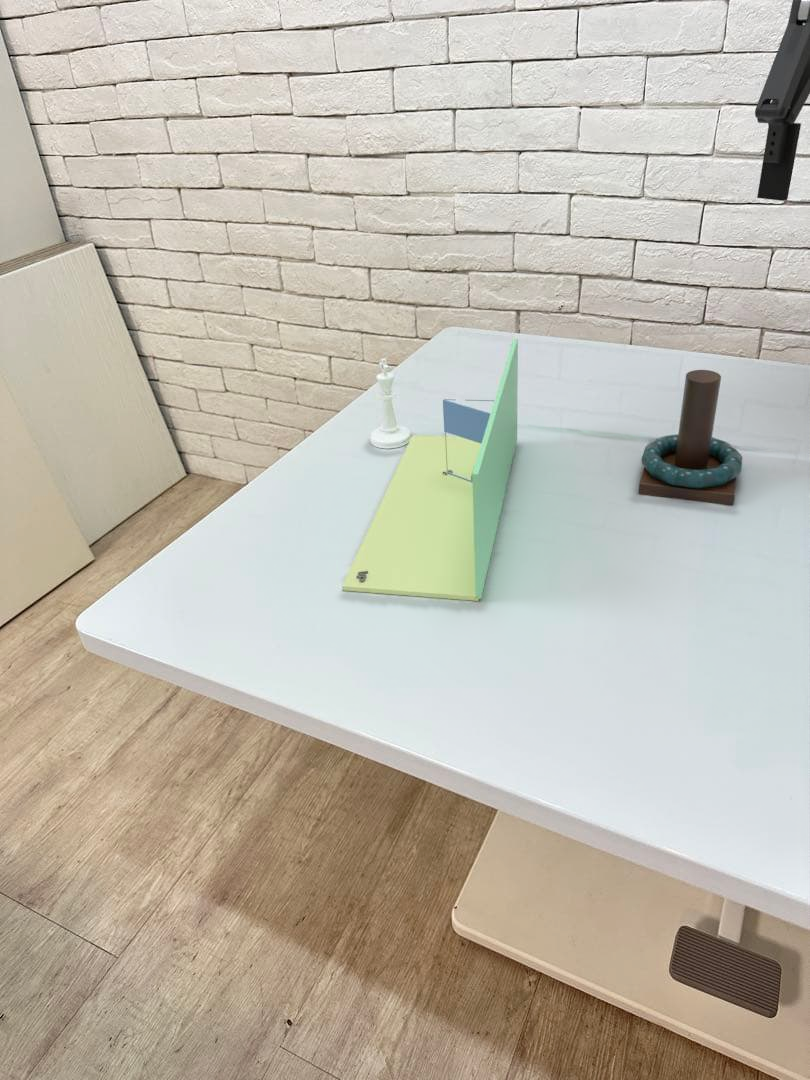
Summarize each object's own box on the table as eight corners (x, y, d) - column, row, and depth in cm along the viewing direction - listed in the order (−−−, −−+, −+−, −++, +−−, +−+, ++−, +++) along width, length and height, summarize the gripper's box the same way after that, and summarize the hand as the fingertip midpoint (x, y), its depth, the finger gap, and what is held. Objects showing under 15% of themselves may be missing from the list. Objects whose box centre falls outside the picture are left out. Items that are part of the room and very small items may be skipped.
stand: (737, 462, 84) (755, 361, 78) (733, 505, 78) (752, 398, 71) (650, 453, 88) (660, 355, 81) (638, 493, 81) (648, 390, 75)
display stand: (481, 601, 68) (478, 474, 61) (342, 590, 71) (324, 467, 64) (517, 442, 92) (517, 338, 85) (412, 438, 95) (405, 337, 88)
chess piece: (400, 426, 98) (393, 348, 92) (418, 441, 94) (412, 360, 88) (363, 436, 96) (354, 357, 91) (380, 452, 92) (372, 370, 87)
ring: (742, 451, 84) (745, 436, 83) (737, 496, 77) (740, 480, 76) (648, 442, 87) (650, 427, 86) (635, 484, 80) (637, 468, 79)
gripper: (887, -76, 77) (837, 163, 89) (737, -72, 65) (702, 205, 77) (972, -87, 72) (907, 169, 84) (827, -84, 60) (775, 214, 72)
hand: (809, 186), depth 80 cm, fingers open, 13 cm apart
